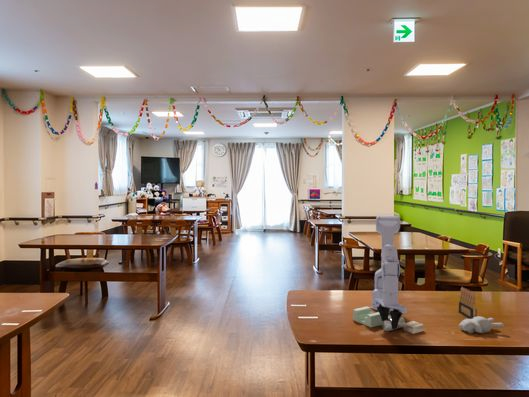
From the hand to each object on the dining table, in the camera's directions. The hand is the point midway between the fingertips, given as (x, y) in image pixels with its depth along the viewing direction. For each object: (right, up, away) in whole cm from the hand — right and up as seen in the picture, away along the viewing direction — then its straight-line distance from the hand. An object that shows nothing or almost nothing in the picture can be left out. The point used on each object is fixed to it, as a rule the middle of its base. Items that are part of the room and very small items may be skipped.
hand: (389, 326), depth 152 cm
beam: (+7, -1, +4) cm, 8 cm away
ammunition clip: (+39, -1, +17) cm, 42 cm away
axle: (+2, -1, +1) cm, 3 cm away
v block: (-6, -1, +9) cm, 11 cm away
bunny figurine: (+35, -2, 0) cm, 35 cm away
